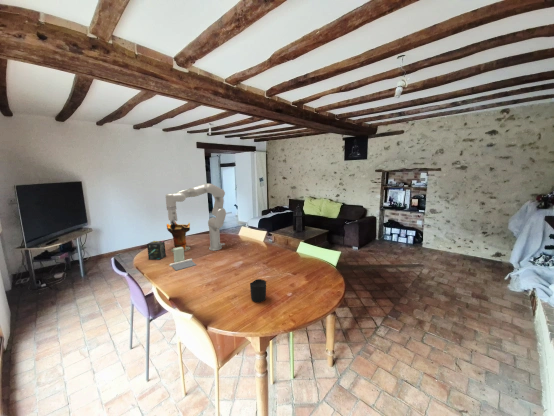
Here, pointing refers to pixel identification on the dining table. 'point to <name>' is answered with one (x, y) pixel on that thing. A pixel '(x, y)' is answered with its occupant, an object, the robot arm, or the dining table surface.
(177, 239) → the decorative vase
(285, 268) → the dining table surface
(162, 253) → the tampon box
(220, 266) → the dining table surface
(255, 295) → the pen holder
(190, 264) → the mat
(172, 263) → the rail
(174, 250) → the sage block
